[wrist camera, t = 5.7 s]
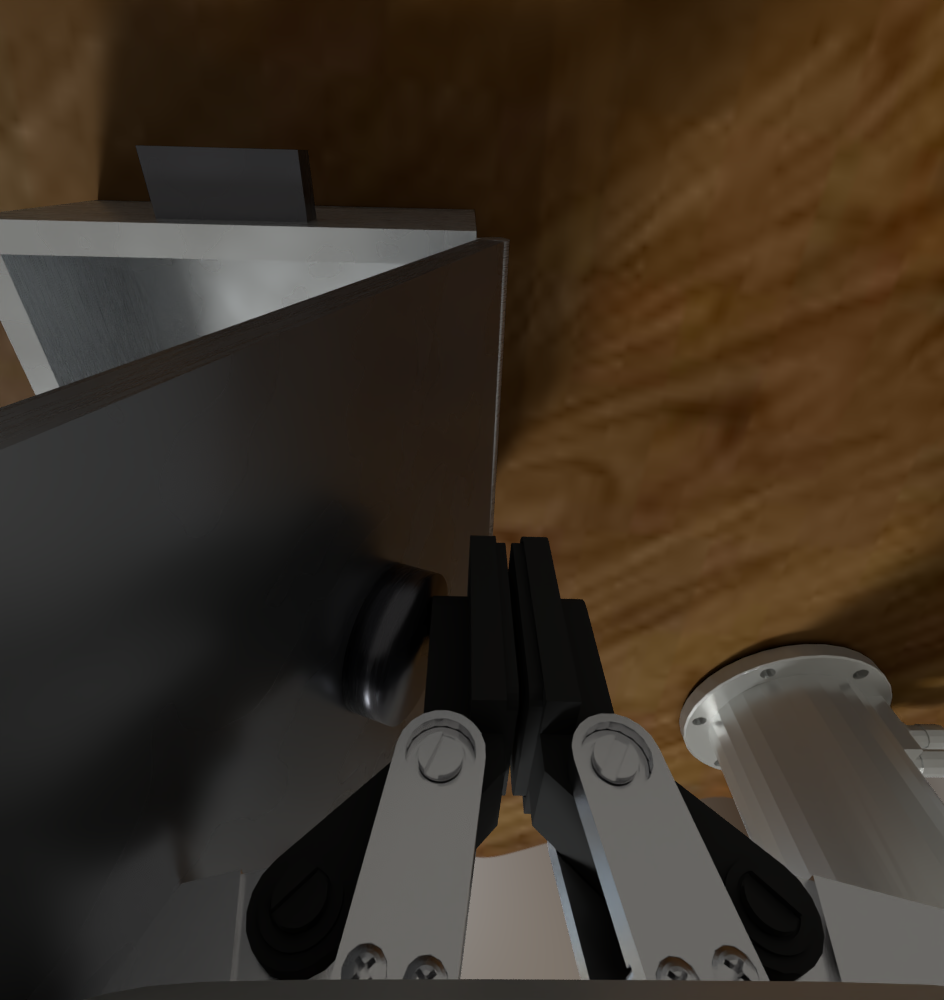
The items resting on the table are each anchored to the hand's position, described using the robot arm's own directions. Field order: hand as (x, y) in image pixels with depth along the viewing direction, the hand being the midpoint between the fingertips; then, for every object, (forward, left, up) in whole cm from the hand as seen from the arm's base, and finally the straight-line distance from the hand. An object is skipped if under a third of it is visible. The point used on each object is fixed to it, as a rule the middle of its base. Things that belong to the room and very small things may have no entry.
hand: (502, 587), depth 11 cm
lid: (+3, 0, +1) cm, 3 cm away
